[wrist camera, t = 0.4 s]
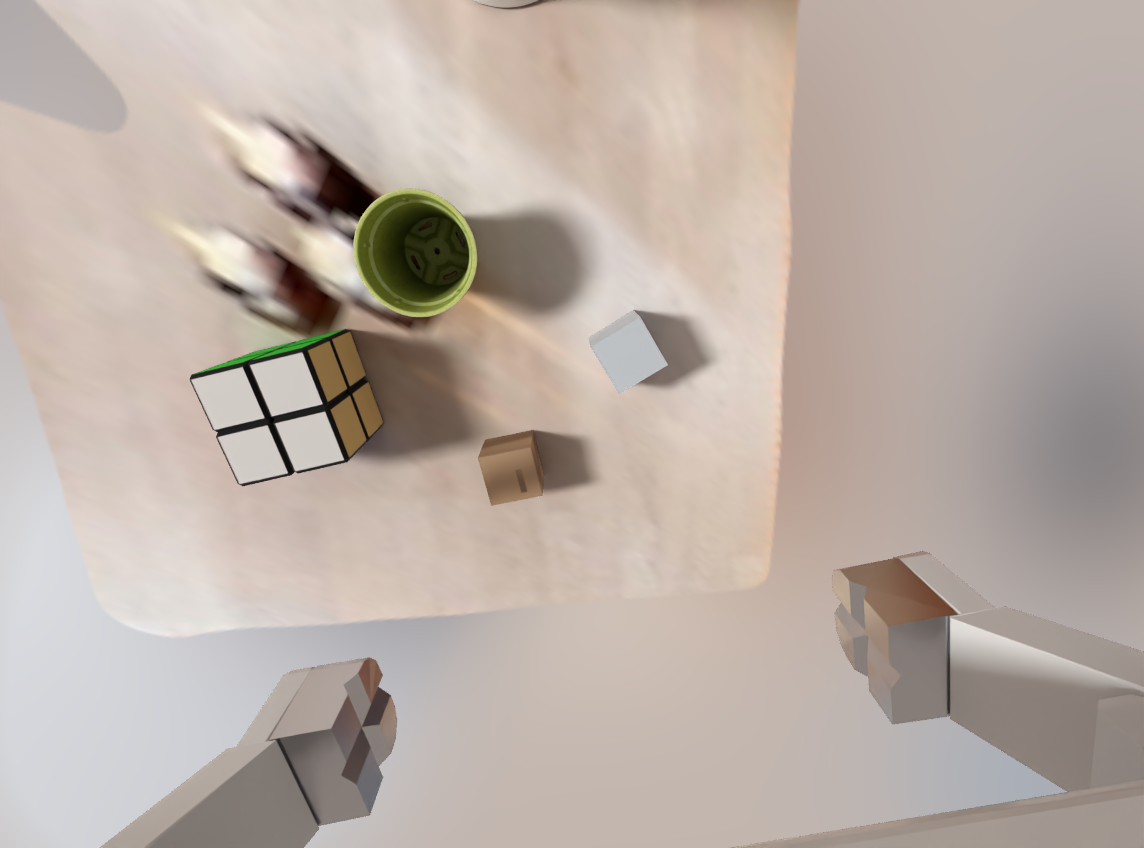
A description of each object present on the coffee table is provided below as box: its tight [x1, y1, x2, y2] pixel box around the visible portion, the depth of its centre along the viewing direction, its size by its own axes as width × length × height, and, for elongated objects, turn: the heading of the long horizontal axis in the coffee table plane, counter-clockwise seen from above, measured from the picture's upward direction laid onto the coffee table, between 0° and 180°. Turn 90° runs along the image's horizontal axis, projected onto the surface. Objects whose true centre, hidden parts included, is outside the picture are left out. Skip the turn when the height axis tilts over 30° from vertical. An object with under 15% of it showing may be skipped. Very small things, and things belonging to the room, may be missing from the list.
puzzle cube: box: [190, 329, 383, 486], centre depth 50 cm, size 10×10×10 cm
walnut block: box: [478, 430, 544, 506], centre depth 55 cm, size 5×5×5 cm
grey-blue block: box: [588, 310, 668, 394], centre depth 52 cm, size 5×5×5 cm
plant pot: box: [354, 189, 477, 317], centre depth 47 cm, size 9×9×9 cm
